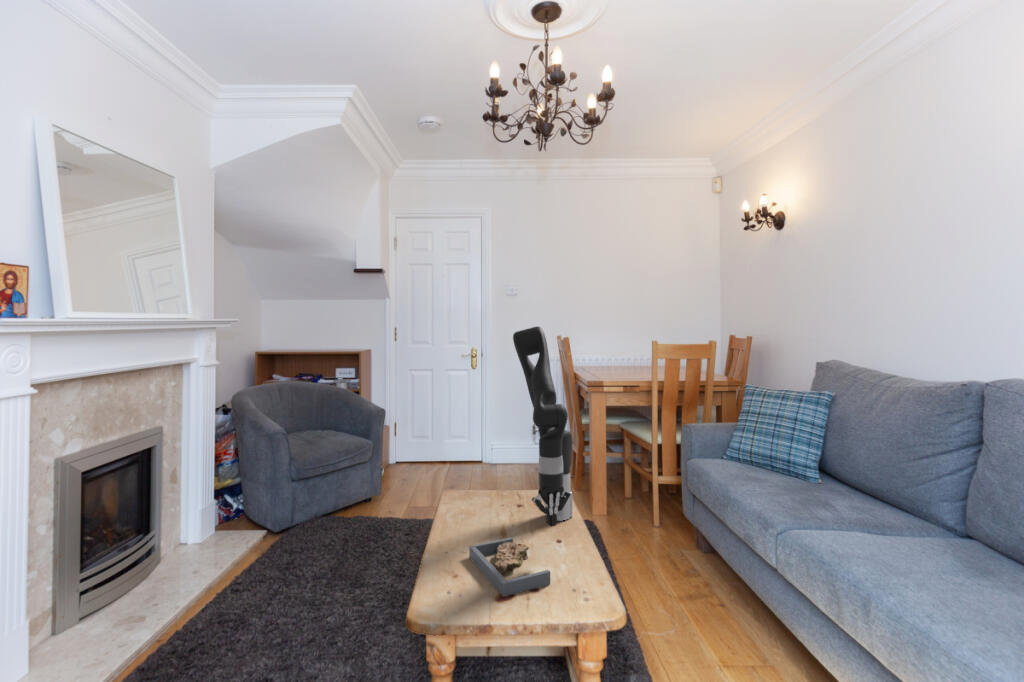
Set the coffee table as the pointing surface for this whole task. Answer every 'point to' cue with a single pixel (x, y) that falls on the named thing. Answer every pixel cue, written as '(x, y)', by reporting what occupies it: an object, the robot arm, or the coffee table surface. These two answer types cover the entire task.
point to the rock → (510, 556)
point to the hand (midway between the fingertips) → (551, 525)
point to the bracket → (496, 578)
